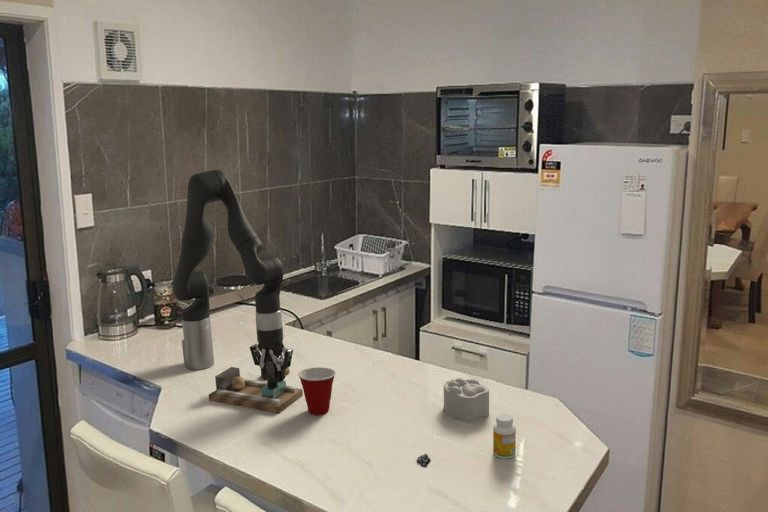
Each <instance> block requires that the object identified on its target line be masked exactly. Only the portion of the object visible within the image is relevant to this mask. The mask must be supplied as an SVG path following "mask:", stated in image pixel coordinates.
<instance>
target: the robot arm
mask: <svg viewBox="0 0 768 512" xmlns="http://www.w3.org/2000/svg"><path fill="white" fill-rule="evenodd" d="M234 190H235V189H234V188H233V185H232V184H231V182H230V180H229V178H228V177H227V175H226V174H225V172H223V171H222V170H220V169H211V170H207V171H206V170H205V171H202V172H198V173H194V174H192V175H191V176H190V177H189V179H188V184H187V194H186V195H187V196H186V197H187V198H186V212H185V213H186V215H185V221H184V229H183V232H182V239H181V246H180V254H179V260H178V263H177V267H176V270H175V273H174V276H173V277H174V278H173V283H172V287H173V288H172V290H173V294H174V296H175V299H177V300H178V301H190V300H194V301H193V302H192V303H191V304H189V306H187V307H185V308H183V309H182V311H181V315H180V317H181V324H182V334H183V339H182V340H181V346H182V355H183V357H182V358H183V363H184V364H183V365H184V367H186V368H187V369H189V370H195V371H196V370H204V369H208V368H210V367H213V366H214V364H215V359H214V358H215V357H214V345H213V337H212V335H213V334H212V326H211V315H210V314H211V313H210V310H211V308H210V286H209V285H210V284H209V278H208V276H207V274H206V273H205V272H204V271H203V270H196V269H197V268H198V266H199V265H200V264H201V263H202V262H203V261H204V260H205V259H206V258H207V256H208V255H209V254H210V252H211V250H212V248H213V247H212V245H213V240H214V237H215V236H214V235H215V234H214V230H213V227H212V225H211V224H210V222H209V221H208V220H207V218H206V217H205V209H206V206H207V205H208V204H212V203H215V202H219V201H221V202H222V204H223V205H224V207H225V209H226V210H227V211H226V212H227V234H228V237H229V239H230V241H231V243H232V245H234V247H235V249H236V251H237V252H238V253H239V255H240V258H241V261H242V264H243V268H244V272H245V275H246V277H247V279H248V280H249V281H250V283H252V284H254V285H256V286H257V285H258V286H259V285H260V286H261V285H263V287H262V288H261V289H260V290H258V291H257V292H256V293H255V296H254V306H255V325H256V340H257V343H254V344H253V345H251V346H249V350H250V354H251V357H252V360H253V363H254V364H253V365H255V366H258V367H259V369H260V377H261V376H262V377H261V378H262V380H264V381H267V372H266V359H272V360H273V361H274V364H276V366H277V369H278V371H277V376H278V382H282V381H285V379H286V375H285V369H287V368H288V367H289V368H290V367H291V364H292V359H293V354H294V350H293V349H292V348H286V347H285V345H284V343H283V342H284V341H283V340H284V330H283V329H284V327H283V315H282V311H281V302H280V301H281V300H280V299H281V297H280V296H281V291H282V286H283V280H284V267H283V263H282V261H281V260H280V259H279V258H278V257H277V256H266V257H264V258H259V257H258V255H259V254H260V253H262V251H263V247H264V246H263V245H264V244H263V243H262V241H261V239H260V237H258V235H257V234H256V232H255V230H254V229H253V227H252V225H251V224H250V222H249V221H248V219H247V216H246V215H245V213H244V211H243V208H242V206H241V203H240V201H239V199H238V197H237V194H236V193H235V191H234ZM277 358H278V359H277Z"/></svg>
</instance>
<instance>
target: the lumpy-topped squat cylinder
mask: <svg viewBox="0 0 768 512" xmlns="http://www.w3.org/2000/svg"><path fill="white" fill-rule="evenodd" d="M443 410H444V413H445V414H446V416H447V415H448V417H451V418H452V419H454V420H457V421H460V422H463V423H476V422H477V421H480V419H485V418H486V417H488V416H489V415H490V389H489V387H487V386H485V385H483V384H481V383H480V382H479V380H477V379H476V378H470V379H465V378H462V377H458V378H456V379H450V380H447V381H445V383H444V385H443Z"/></svg>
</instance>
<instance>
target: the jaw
mask: <svg viewBox="0 0 768 512" xmlns="http://www.w3.org/2000/svg"><path fill="white" fill-rule="evenodd" d="M277 359H279V358H277ZM277 371H278V369H277V366H276V364H274V361H273V360H272V359H266V372H267V379H266V383H267V385H266V386H264V387H263V388H261V392H262V396H263V397H268V398H274V399H275V398H277V397H278V396H279V395H281V394H282V393H284V392H285V391H286V386H287V381H286V380H283V381H282V382H278V376H277Z"/></svg>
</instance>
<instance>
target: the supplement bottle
mask: <svg viewBox="0 0 768 512" xmlns="http://www.w3.org/2000/svg"><path fill="white" fill-rule="evenodd" d="M513 423H514V417H513V416H512V415H511V414H508V413H499V414H497V415H496V417H495V423H494V424H493V428H492V429H493V430H492V431H493V432H492V433H493V435H492V439H493V440H492V442H493V445H492V446H493V447H492V450H493V455H494V456H495V457H497V458H499V459H503V460H505V459H506V460H507V459H511V458H514V457H515V456H516V451H517V449H516V448H517V447H516V446H517V445H516V443H517V442H516V438H517V437H516V434H517V433H516V426H515V424H513Z"/></svg>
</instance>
